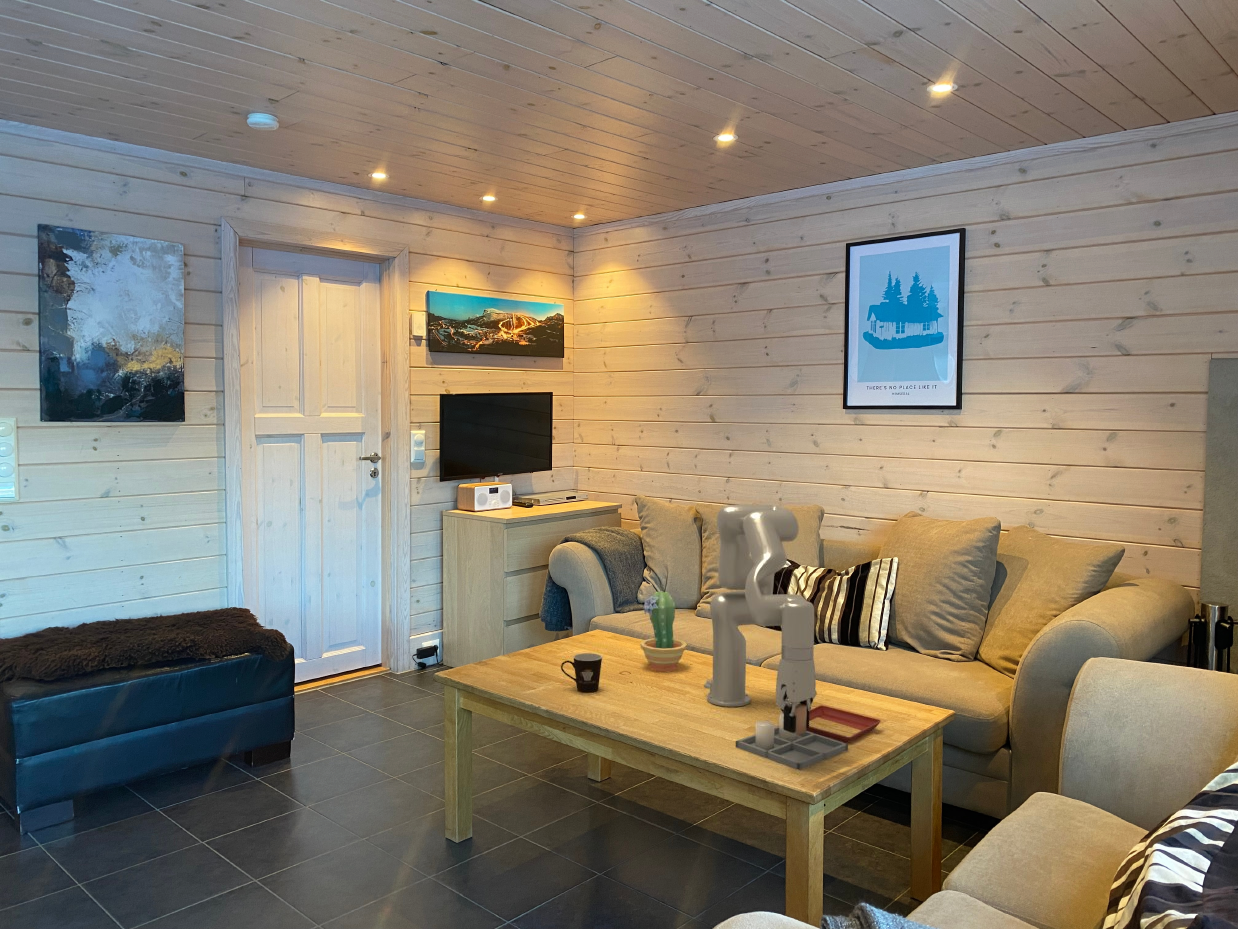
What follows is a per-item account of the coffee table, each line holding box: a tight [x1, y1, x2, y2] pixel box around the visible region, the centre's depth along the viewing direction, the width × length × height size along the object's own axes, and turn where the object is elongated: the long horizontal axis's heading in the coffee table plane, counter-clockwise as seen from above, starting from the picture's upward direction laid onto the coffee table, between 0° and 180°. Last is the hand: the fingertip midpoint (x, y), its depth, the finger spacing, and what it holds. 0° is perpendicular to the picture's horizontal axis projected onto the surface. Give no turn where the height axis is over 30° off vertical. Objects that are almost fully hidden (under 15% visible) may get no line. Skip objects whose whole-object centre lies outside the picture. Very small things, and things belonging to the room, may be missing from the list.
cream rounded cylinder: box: [778, 713, 797, 742], centre depth 231 cm, size 5×5×6 cm
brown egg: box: [788, 703, 807, 734], centre depth 218 cm, size 5×5×6 cm
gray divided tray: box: [735, 725, 849, 771], centre depth 225 cm, size 19×19×2 cm
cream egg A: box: [754, 720, 776, 751], centre depth 225 cm, size 5×5×6 cm
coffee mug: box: [560, 652, 603, 694], centre depth 275 cm, size 12×9×10 cm
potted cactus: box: [639, 590, 688, 673], centre depth 299 cm, size 15×15×25 cm
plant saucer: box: [806, 705, 882, 744], centre depth 241 cm, size 18×18×3 cm
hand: (796, 728), depth 218 cm, fingers closed on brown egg, 4 cm apart
